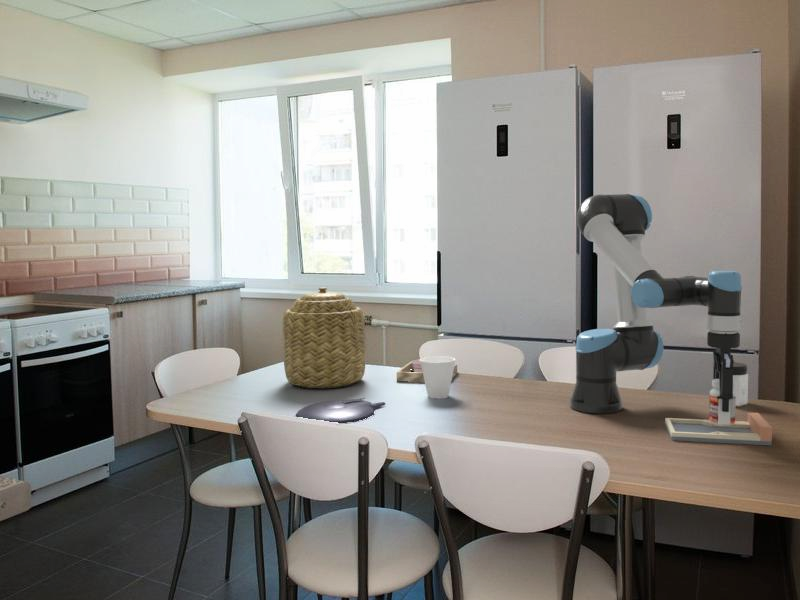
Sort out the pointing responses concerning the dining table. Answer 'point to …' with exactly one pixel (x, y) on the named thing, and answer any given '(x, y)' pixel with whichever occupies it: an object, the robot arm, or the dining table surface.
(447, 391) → the cup
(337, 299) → the basket
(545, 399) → the dining table surface
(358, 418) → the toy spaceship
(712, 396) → the pill bottle
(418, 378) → the birch tray rim
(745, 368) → the jar
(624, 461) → the dining table surface
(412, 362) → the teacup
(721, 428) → the keyhole board
